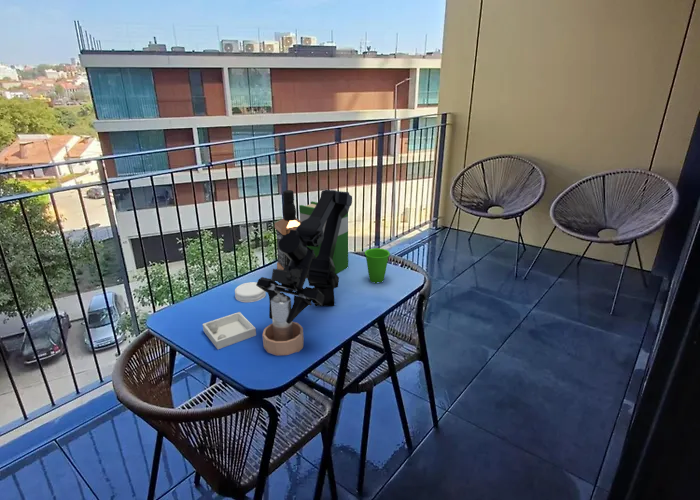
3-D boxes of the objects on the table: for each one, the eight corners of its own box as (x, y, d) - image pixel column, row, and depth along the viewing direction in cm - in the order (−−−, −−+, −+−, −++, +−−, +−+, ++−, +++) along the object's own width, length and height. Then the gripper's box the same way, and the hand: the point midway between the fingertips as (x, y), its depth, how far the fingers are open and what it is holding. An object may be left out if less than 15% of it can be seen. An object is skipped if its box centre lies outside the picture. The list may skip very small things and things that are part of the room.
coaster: (230, 296, 141) (229, 286, 139) (257, 288, 146) (256, 279, 145) (243, 307, 133) (241, 298, 132) (270, 298, 139) (270, 289, 138)
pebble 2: (228, 339, 115) (227, 332, 114) (226, 344, 113) (225, 337, 112) (219, 340, 115) (218, 332, 114) (217, 345, 113) (216, 337, 112)
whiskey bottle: (276, 271, 159) (270, 189, 147) (300, 266, 163) (296, 186, 152) (285, 281, 151) (279, 195, 139) (310, 275, 155) (307, 192, 143)
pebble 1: (219, 329, 120) (218, 322, 119) (217, 334, 118) (216, 326, 117) (211, 329, 120) (209, 322, 119) (208, 334, 117) (207, 327, 117)
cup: (393, 278, 152) (394, 251, 148) (381, 288, 145) (382, 259, 141) (372, 273, 157) (372, 246, 153) (359, 282, 150) (359, 254, 146)
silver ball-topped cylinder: (288, 331, 116) (285, 286, 111) (296, 340, 112) (293, 294, 107) (271, 336, 114) (267, 291, 108) (278, 346, 109) (274, 299, 104)
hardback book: (302, 263, 166) (299, 205, 157) (314, 257, 172) (312, 201, 163) (336, 273, 156) (335, 213, 148) (348, 267, 162) (347, 208, 153)
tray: (240, 320, 126) (239, 311, 124) (256, 337, 117) (255, 327, 116) (203, 332, 119) (202, 323, 118) (217, 351, 111) (216, 341, 110)
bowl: (304, 333, 119) (303, 320, 117) (302, 356, 109) (301, 341, 107) (267, 335, 118) (265, 321, 116) (261, 357, 108) (260, 343, 107)
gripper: (257, 250, 111) (234, 304, 106) (317, 261, 104) (296, 320, 99) (275, 265, 121) (256, 316, 116) (332, 277, 113) (314, 331, 108)
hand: (279, 320), depth 109 cm, fingers closed on silver ball-topped cylinder, 5 cm apart
